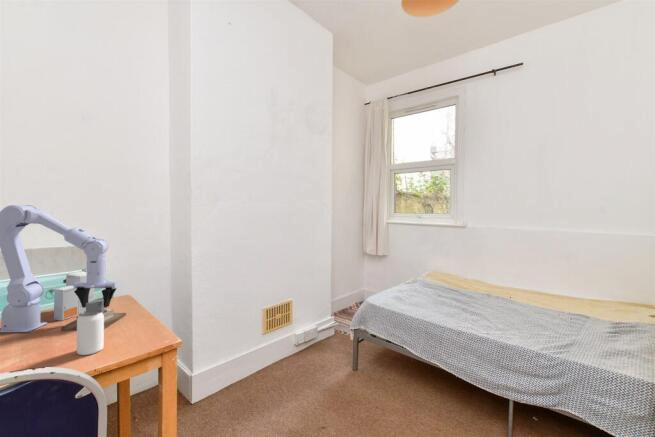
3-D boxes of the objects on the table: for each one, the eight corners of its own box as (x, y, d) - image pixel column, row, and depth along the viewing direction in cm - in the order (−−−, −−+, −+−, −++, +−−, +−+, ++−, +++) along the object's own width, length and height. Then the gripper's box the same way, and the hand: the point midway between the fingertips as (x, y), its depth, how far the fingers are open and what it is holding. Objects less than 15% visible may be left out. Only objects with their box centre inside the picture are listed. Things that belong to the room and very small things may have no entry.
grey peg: (85, 322, 109) (85, 303, 109) (93, 317, 113) (93, 300, 113) (97, 321, 110) (97, 303, 110) (104, 317, 114) (104, 300, 114)
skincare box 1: (62, 320, 112) (62, 290, 112) (53, 319, 113) (53, 289, 113) (78, 315, 118) (78, 286, 118) (70, 314, 119) (70, 285, 118)
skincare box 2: (64, 310, 122) (64, 274, 122) (81, 305, 129) (81, 270, 128) (78, 313, 120) (78, 275, 119) (95, 308, 126) (95, 272, 126)
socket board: (61, 329, 104) (61, 320, 104) (89, 315, 118) (89, 306, 118) (103, 329, 106) (103, 319, 106) (125, 315, 120) (126, 306, 120)
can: (87, 345, 94) (87, 308, 93) (108, 345, 94) (108, 308, 94) (71, 356, 87) (71, 316, 87) (94, 355, 88) (94, 316, 87)
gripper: (67, 273, 107) (67, 310, 107) (109, 274, 108) (109, 310, 109) (81, 269, 114) (81, 304, 114) (121, 270, 115) (120, 304, 116)
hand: (95, 306), depth 112 cm, fingers open, 7 cm apart
